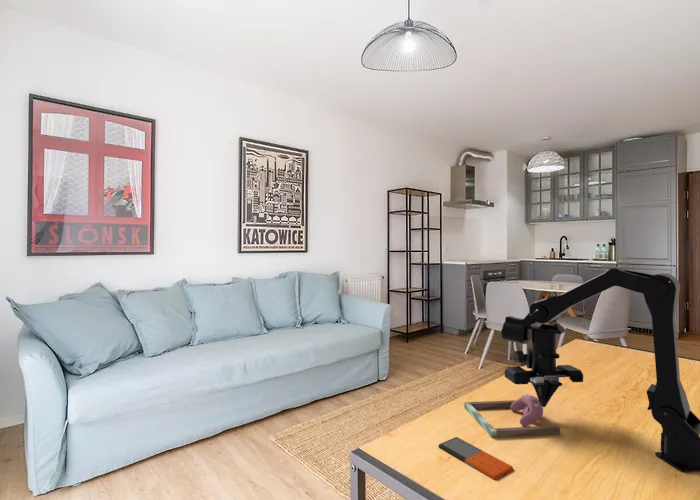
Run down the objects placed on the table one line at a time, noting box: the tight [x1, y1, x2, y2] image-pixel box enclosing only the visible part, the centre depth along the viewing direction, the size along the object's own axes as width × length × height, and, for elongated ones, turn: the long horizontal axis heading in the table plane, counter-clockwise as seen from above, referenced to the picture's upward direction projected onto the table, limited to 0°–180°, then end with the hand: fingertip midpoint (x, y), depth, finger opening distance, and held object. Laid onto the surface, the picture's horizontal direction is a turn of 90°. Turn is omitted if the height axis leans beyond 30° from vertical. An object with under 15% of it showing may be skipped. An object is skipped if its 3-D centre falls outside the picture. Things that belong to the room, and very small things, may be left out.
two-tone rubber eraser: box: [438, 436, 514, 481], centre depth 84 cm, size 6×1×15 cm
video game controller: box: [509, 393, 544, 427], centre depth 102 cm, size 10×5×7 cm, turn 173°
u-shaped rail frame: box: [463, 399, 561, 438], centre depth 101 cm, size 16×17×2 cm
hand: (542, 406), depth 102 cm, fingers closed
